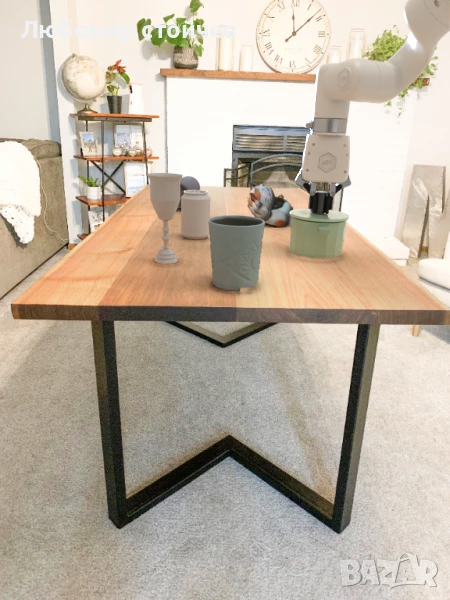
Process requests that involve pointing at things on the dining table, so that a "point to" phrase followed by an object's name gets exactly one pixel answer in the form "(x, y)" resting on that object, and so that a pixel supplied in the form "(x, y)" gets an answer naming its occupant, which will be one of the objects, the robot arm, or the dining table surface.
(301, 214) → the lid
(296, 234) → the pot
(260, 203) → the lucky cat figurine
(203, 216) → the can
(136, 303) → the dining table surface
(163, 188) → the chalice
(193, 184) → the bluetooth speaker
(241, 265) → the green ceramic cup
